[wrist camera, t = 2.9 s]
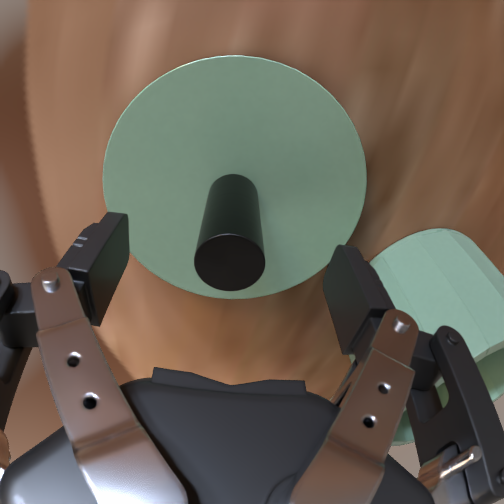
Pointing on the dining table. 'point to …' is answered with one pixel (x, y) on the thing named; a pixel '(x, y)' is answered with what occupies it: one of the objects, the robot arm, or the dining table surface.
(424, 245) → the pot
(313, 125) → the lid
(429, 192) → the dining table surface
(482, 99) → the dining table surface
